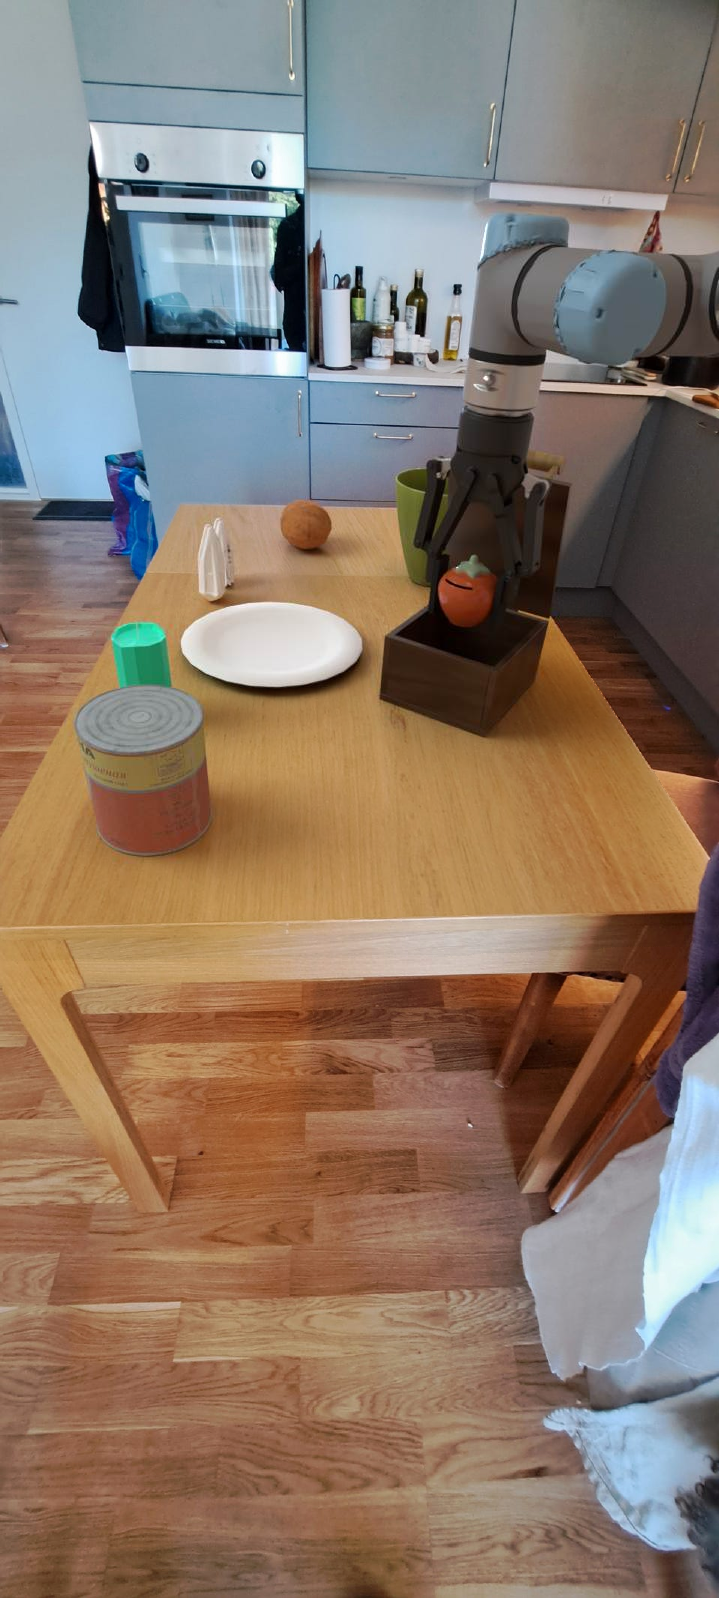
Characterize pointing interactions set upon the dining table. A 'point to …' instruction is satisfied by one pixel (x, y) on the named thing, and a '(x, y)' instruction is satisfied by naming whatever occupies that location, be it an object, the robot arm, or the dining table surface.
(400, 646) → the dark wooden box
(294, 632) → the plate
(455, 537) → the lid
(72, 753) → the dining table surface
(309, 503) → the brown coconut
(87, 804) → the dining table surface
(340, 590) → the dining table surface
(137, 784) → the canned food
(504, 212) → the robot arm
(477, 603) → the tomato
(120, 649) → the candle
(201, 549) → the shaker set
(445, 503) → the flower pot
